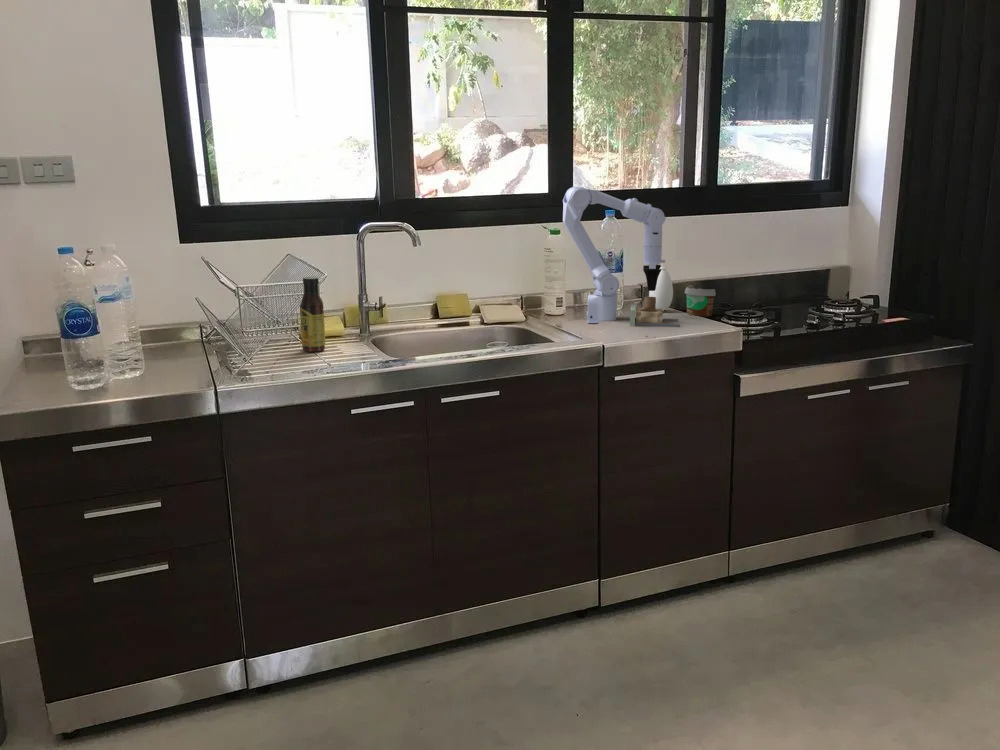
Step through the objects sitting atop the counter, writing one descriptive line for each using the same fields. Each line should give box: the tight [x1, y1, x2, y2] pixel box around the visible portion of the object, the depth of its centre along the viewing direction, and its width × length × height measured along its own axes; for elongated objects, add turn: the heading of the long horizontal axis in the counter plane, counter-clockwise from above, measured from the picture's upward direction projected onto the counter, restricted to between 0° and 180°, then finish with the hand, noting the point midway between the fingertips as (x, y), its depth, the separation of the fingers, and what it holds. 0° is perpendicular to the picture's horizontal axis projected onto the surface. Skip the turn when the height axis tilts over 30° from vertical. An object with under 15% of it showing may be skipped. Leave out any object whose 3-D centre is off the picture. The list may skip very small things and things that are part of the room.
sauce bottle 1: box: [299, 276, 326, 353], centre depth 222 cm, size 6×6×20 cm
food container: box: [684, 284, 717, 317], centre depth 274 cm, size 12×6×10 cm, turn 25°
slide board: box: [629, 303, 680, 328], centre depth 258 cm, size 15×12×6 cm
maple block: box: [635, 307, 664, 324], centre depth 258 cm, size 8×8×4 cm
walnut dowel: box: [643, 296, 656, 312], centre depth 258 cm, size 4×4×7 cm
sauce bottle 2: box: [648, 263, 674, 310], centre depth 284 cm, size 8×8×18 cm
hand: (651, 289), depth 266 cm, fingers open, 7 cm apart
